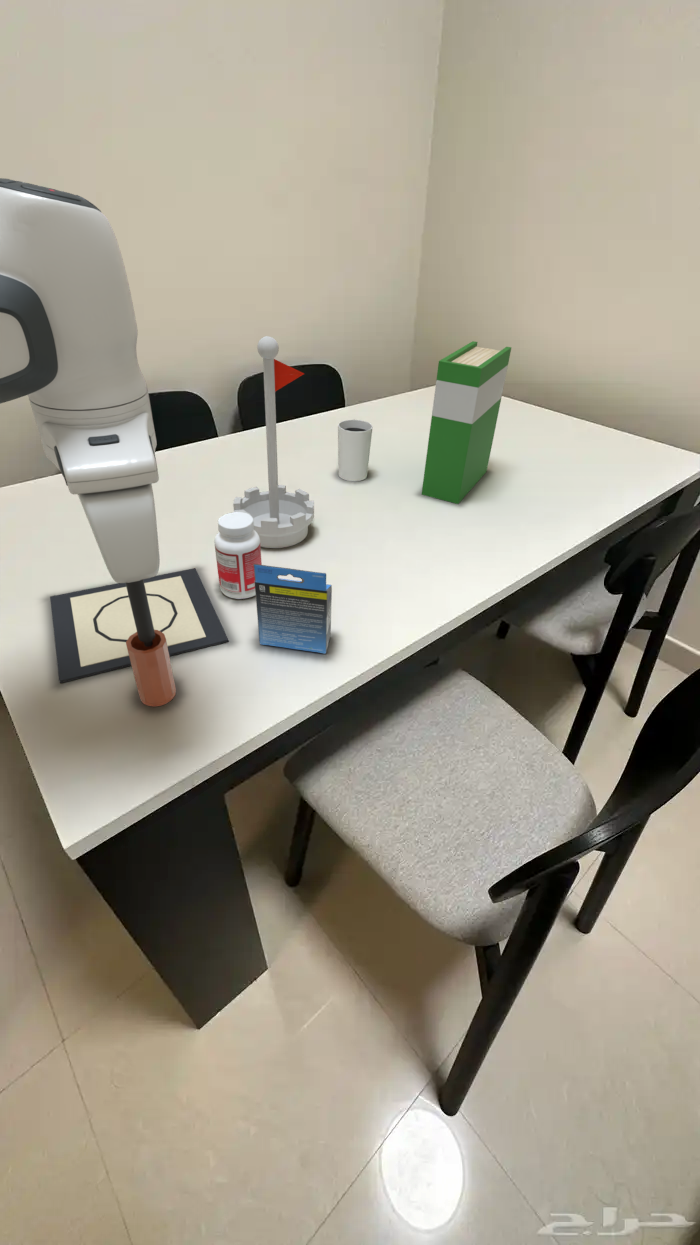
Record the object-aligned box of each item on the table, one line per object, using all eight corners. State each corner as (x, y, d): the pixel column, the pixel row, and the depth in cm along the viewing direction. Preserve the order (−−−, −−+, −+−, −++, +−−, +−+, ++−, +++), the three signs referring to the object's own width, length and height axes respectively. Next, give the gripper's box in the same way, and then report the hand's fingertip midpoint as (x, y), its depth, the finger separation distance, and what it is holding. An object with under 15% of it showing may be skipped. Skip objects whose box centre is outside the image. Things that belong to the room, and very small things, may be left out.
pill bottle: (260, 574, 87) (256, 507, 80) (265, 598, 82) (261, 529, 75) (218, 578, 86) (211, 510, 79) (220, 602, 81) (212, 532, 74)
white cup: (354, 485, 113) (357, 434, 107) (329, 474, 116) (330, 425, 110) (376, 475, 117) (379, 426, 111) (351, 465, 120) (353, 417, 114)
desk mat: (60, 683, 67) (58, 679, 67) (50, 598, 80) (49, 595, 80) (228, 641, 75) (228, 638, 74) (195, 570, 87) (195, 567, 87)
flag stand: (246, 556, 91) (230, 350, 72) (228, 518, 100) (210, 327, 81) (324, 544, 95) (329, 346, 76) (300, 508, 104) (298, 324, 86)
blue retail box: (331, 636, 76) (334, 556, 69) (326, 655, 73) (328, 573, 66) (266, 626, 77) (261, 546, 70) (257, 645, 74) (252, 563, 67)
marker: (141, 651, 61) (114, 535, 53) (139, 641, 63) (111, 526, 54) (158, 647, 62) (133, 532, 53) (155, 637, 63) (130, 523, 54)
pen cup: (143, 710, 65) (129, 657, 60) (137, 687, 67) (123, 634, 62) (179, 700, 66) (168, 647, 61) (172, 678, 69) (161, 625, 64)
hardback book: (453, 463, 123) (472, 341, 109) (486, 471, 121) (511, 347, 106) (421, 494, 111) (438, 361, 96) (458, 504, 108) (481, 368, 94)
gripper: (48, 394, 54) (84, 526, 62) (66, 484, 40) (110, 639, 48) (119, 388, 56) (145, 516, 65) (160, 471, 42) (186, 621, 50)
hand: (130, 569), depth 56 cm, fingers closed on marker, 2 cm apart
